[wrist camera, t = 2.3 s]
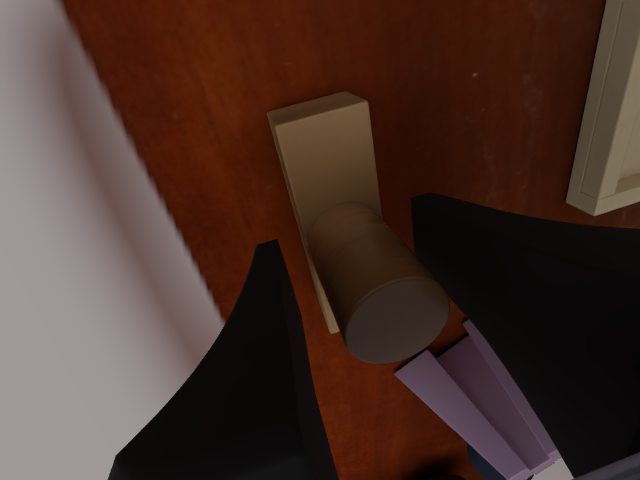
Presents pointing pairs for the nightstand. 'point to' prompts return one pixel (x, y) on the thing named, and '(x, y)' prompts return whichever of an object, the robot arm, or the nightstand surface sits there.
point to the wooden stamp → (354, 232)
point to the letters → (482, 405)
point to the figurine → (447, 477)
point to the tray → (611, 117)
